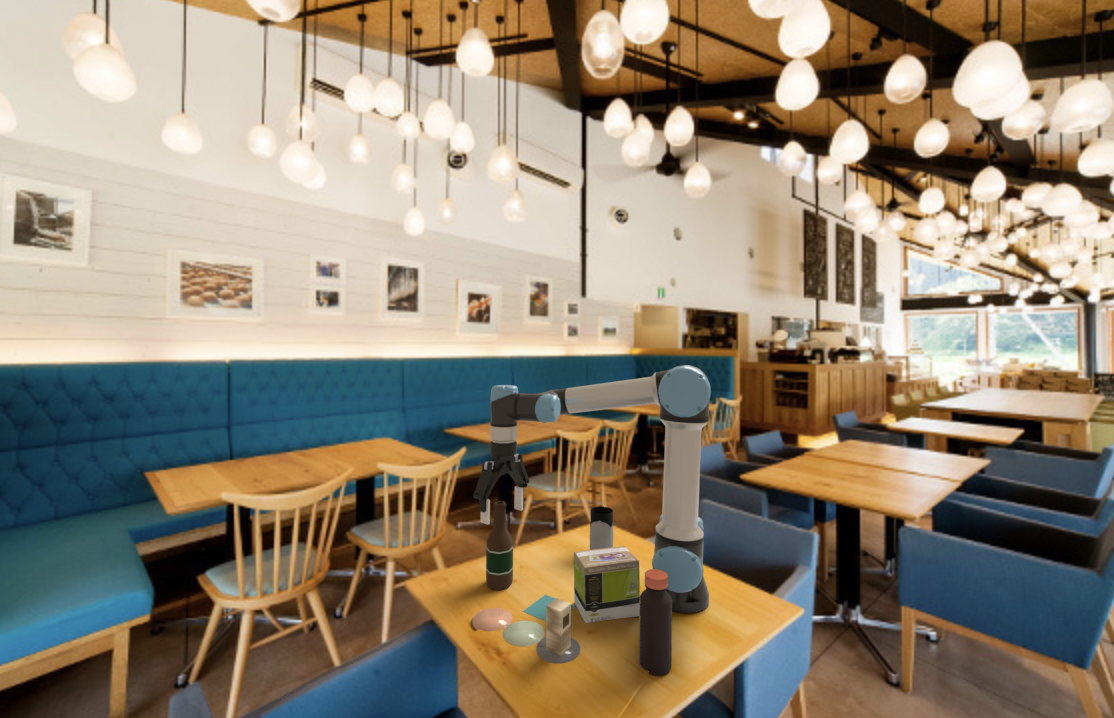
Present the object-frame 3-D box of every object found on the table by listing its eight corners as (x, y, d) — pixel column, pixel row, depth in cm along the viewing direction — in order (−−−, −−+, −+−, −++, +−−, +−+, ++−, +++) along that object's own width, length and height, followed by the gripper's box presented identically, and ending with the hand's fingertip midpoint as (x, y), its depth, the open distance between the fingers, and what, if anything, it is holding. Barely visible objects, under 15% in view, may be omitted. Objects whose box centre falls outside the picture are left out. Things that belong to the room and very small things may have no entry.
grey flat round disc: (588, 647, 106) (588, 644, 106) (564, 672, 97) (564, 669, 97) (552, 632, 111) (552, 629, 111) (527, 654, 103) (527, 651, 103)
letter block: (570, 647, 105) (571, 603, 105) (561, 656, 101) (561, 611, 101) (556, 640, 107) (556, 598, 107) (546, 649, 104) (546, 605, 104)
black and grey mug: (585, 558, 151) (586, 513, 151) (594, 541, 165) (594, 499, 165) (612, 562, 149) (612, 516, 149) (618, 544, 162) (619, 502, 162)
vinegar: (644, 677, 96) (645, 582, 96) (635, 656, 103) (636, 567, 102) (676, 675, 97) (677, 581, 96) (665, 654, 103) (666, 566, 103)
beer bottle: (518, 583, 135) (518, 501, 134) (498, 593, 129) (499, 508, 128) (500, 574, 140) (500, 496, 139) (480, 584, 134) (480, 502, 133)
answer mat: (575, 608, 122) (575, 606, 122) (554, 626, 113) (554, 624, 113) (545, 596, 127) (545, 594, 127) (522, 613, 119) (522, 611, 119)
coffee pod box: (625, 597, 127) (625, 544, 127) (640, 617, 118) (641, 560, 117) (573, 604, 124) (573, 549, 123) (584, 626, 114) (584, 566, 114)
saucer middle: (552, 632, 111) (552, 629, 111) (527, 654, 103) (527, 651, 103) (520, 618, 117) (520, 616, 117) (494, 638, 109) (494, 636, 109)
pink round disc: (520, 618, 117) (520, 616, 117) (494, 638, 109) (494, 636, 109) (491, 606, 123) (491, 603, 122) (464, 624, 114) (464, 621, 114)
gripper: (522, 432, 141) (521, 501, 141) (460, 445, 121) (459, 525, 121) (541, 435, 136) (540, 507, 137) (480, 449, 116) (479, 532, 117)
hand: (502, 516), depth 129 cm, fingers open, 13 cm apart
